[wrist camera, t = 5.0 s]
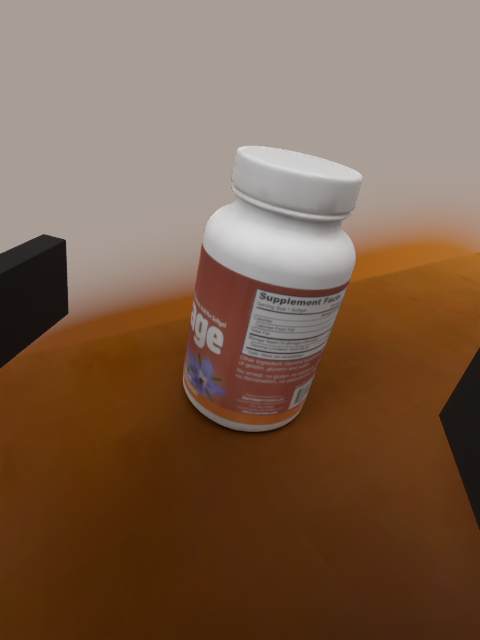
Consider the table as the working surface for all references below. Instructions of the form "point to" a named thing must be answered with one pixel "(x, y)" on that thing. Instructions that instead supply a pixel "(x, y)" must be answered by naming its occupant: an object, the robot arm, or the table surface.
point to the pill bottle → (269, 287)
